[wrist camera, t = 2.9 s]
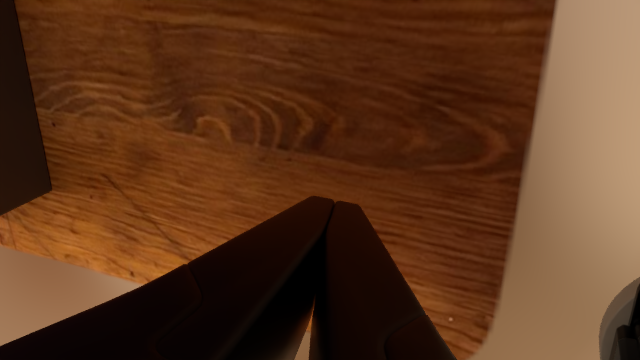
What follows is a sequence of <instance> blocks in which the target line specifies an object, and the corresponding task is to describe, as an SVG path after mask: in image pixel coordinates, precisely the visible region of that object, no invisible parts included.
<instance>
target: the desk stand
mask: <svg viewBox="0 0 640 360" xmlns="http://www.w3.org/2000/svg"><path fill="white" fill-rule="evenodd" d="M50 191H51V185H50V180H49V175H48V170H47V165H46V160H45V155H44V150H43V145H42V140H41V135H40V131H39V126H38V121H37V116H36V111H35V106H34V101H33V96H32V91H31V86H30V81H29V76H28V71H27V66H26V61H25V56H24V52H23V47H22V42H21V37H20V32H19V27H18V22H17V17H16V12H15V7H14V2H13V0H0V216H1V215H3V214H5V213H7V212H9V211H11V210H13V209H15V208H17V207H19V206H21V205H23V204H25V203H27V202H29V201H31V200H33V199H35V198H37V197H39V196H41V195H43V194H46V193H48V192H50Z"/></svg>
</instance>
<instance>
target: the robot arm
mask: <svg viewBox="0 0 640 360" xmlns="http://www.w3.org/2000/svg"><path fill="white" fill-rule="evenodd" d="M313 308H314V310H313ZM312 312H313V317H312V325H311V338H310V350H309V360H457V359H456V358H455V356H454V355H453V354H452V352H451V351H450V349H449V348H448V346H447V345H446V343H445V342H444V340H443V339H442V337H441V336H440V334H439V333H438V331H437V330H436V328H435V326H434V325H433V323H432V321H431V320H430V318H429V317H428V315H426V313H425V311H424V310H423V308H422V307H421V305H420V303H419V302H418V300H417V298H416V297H415V295H414V293H413V292H412V290H411V289H410V287H409V285H408V284H407V282H406V280H405V279H404V277H403V276H402V274H401V272H400V271H399V269H398V267H397V266H396V264H395V262H394V261H393V259H392V258H391V256H390V254H389V253H388V251H387V249H386V248H385V246H384V245H383V243H382V241H381V240H380V238H379V236H378V235H377V233H376V231H375V230H374V228H373V227H372V225H371V223H370V222H369V220H368V218H367V217H366V215H365V213H364V212H363V210H362V209H361V207H360V206H359V205H358V204H354V203H348V202H343V201H337V202H336V203H334V201H333V200H332V199H328V198H323V197H318V196H311V197H309V198H307V199H305V200H303V201H301V202H299V203H298V204H296V205H294V206H292V207H290V208H288V209H287V210H285V211H283V212H281V213H279V214H277V215H275V216H274V217H272V218H270V219H268V220H266V221H264V222H263V223H261V224H259V225H257V226H255V227H253V228H251V229H250V230H248V231H246V232H244V233H242V234H240V235H239V236H237V237H235V238H233V239H231V240H229V241H227V242H226V243H224V244H222V245H220V246H218V247H216V248H215V249H213V250H211V251H209V252H207V253H205V254H203V255H202V256H200V257H198V258H196V259H194V260H192V261H191V262H189V263H188V264H183V265H182V266H180V267H178V268H176V269H174V270H172V271H170V272H169V273H167V274H165V275H163V276H161V277H159V278H157V279H155V280H153V281H151V282H149V283H147V284H145V285H143V286H141V287H139V288H137V289H134V290H132V291H130V292H127V293H125V294H123V295H121V296H119V297H116V298H114V299H112V300H109V301H107V302H105V303H102V304H100V305H98V306H95V307H93V308H91V309H88V310H86V311H83V312H81V313H78V314H76V315H74V316H71V317H69V318H66V319H64V320H62V321H59V322H57V323H54V324H52V325H50V326H47V327H45V328H42V329H40V330H38V331H35V332H33V333H30V334H29V335H26V336H23V337H21V338H19V339H16V340H14V341H11V342H9V343H6V344H4V345H2V346H0V360H294V359H295V356H296V354H297V351H298V349H299V346H300V344H301V341H302V338H303V336H304V334H305V331H306V329H307V326H308V324H309V321H310V318H311V315H312ZM609 360H640V284H639V285H638V287H637V290H636V294H635V298H634V302H633V306H632V311H631V315H630V319H629V323H628V325H624V324H623V325H621V326H620V327H618V328H616V332H615V337H614V341H613V345H612V349H611V354H610V358H609Z"/></svg>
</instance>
